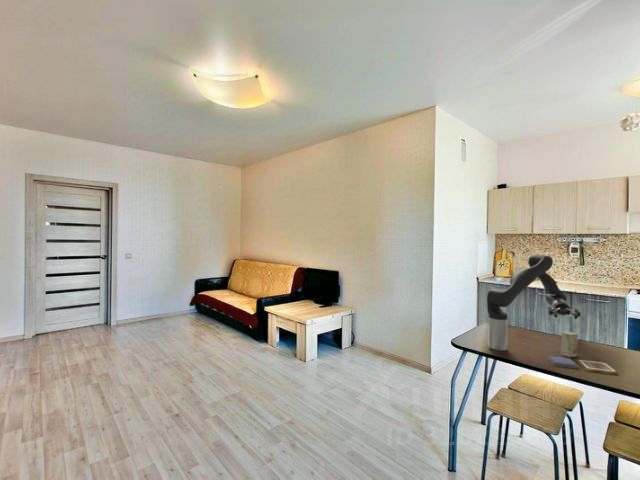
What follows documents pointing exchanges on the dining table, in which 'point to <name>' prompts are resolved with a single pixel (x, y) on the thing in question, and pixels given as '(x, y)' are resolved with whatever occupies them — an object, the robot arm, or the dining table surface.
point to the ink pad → (562, 362)
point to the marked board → (597, 367)
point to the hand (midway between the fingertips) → (566, 316)
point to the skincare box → (569, 344)
